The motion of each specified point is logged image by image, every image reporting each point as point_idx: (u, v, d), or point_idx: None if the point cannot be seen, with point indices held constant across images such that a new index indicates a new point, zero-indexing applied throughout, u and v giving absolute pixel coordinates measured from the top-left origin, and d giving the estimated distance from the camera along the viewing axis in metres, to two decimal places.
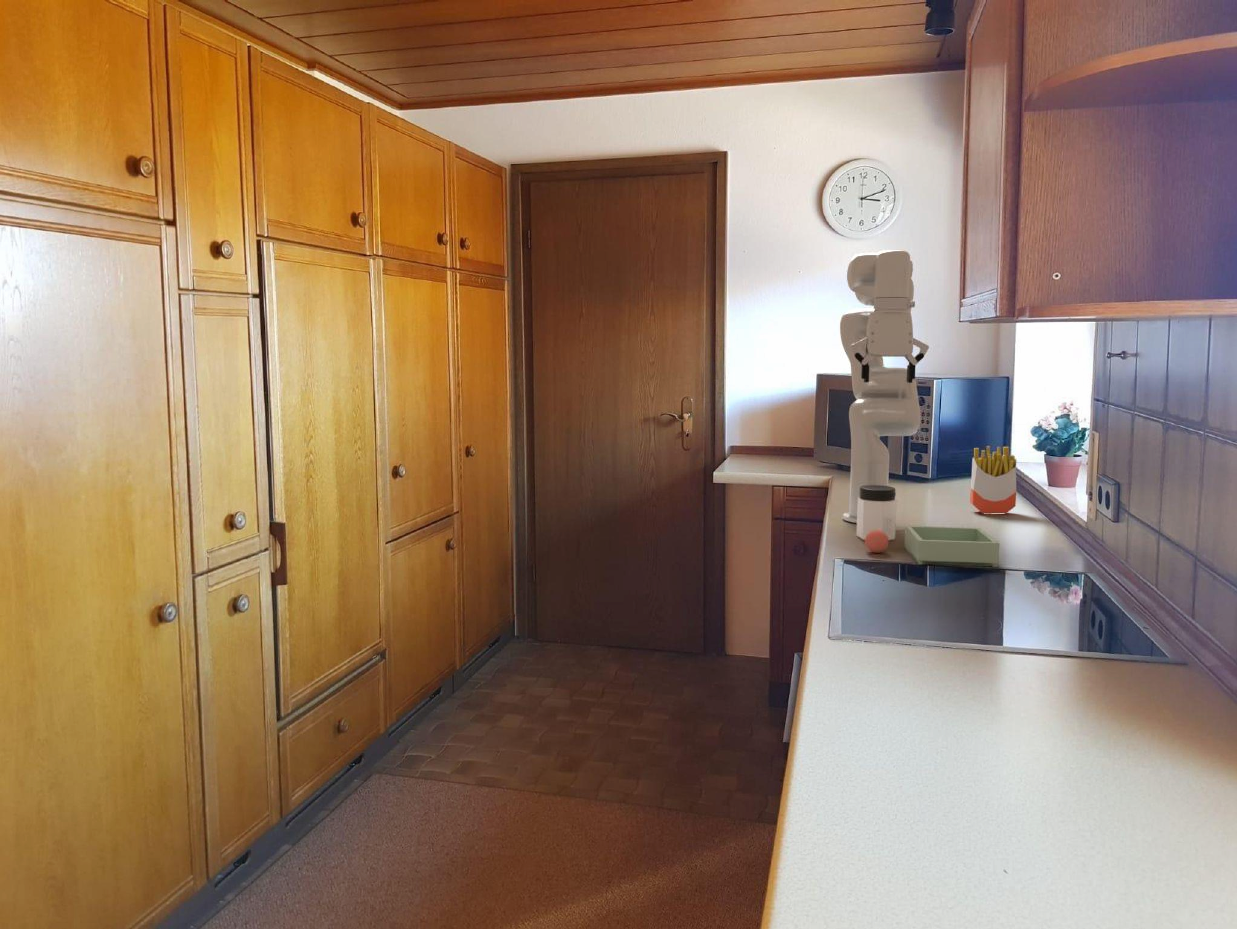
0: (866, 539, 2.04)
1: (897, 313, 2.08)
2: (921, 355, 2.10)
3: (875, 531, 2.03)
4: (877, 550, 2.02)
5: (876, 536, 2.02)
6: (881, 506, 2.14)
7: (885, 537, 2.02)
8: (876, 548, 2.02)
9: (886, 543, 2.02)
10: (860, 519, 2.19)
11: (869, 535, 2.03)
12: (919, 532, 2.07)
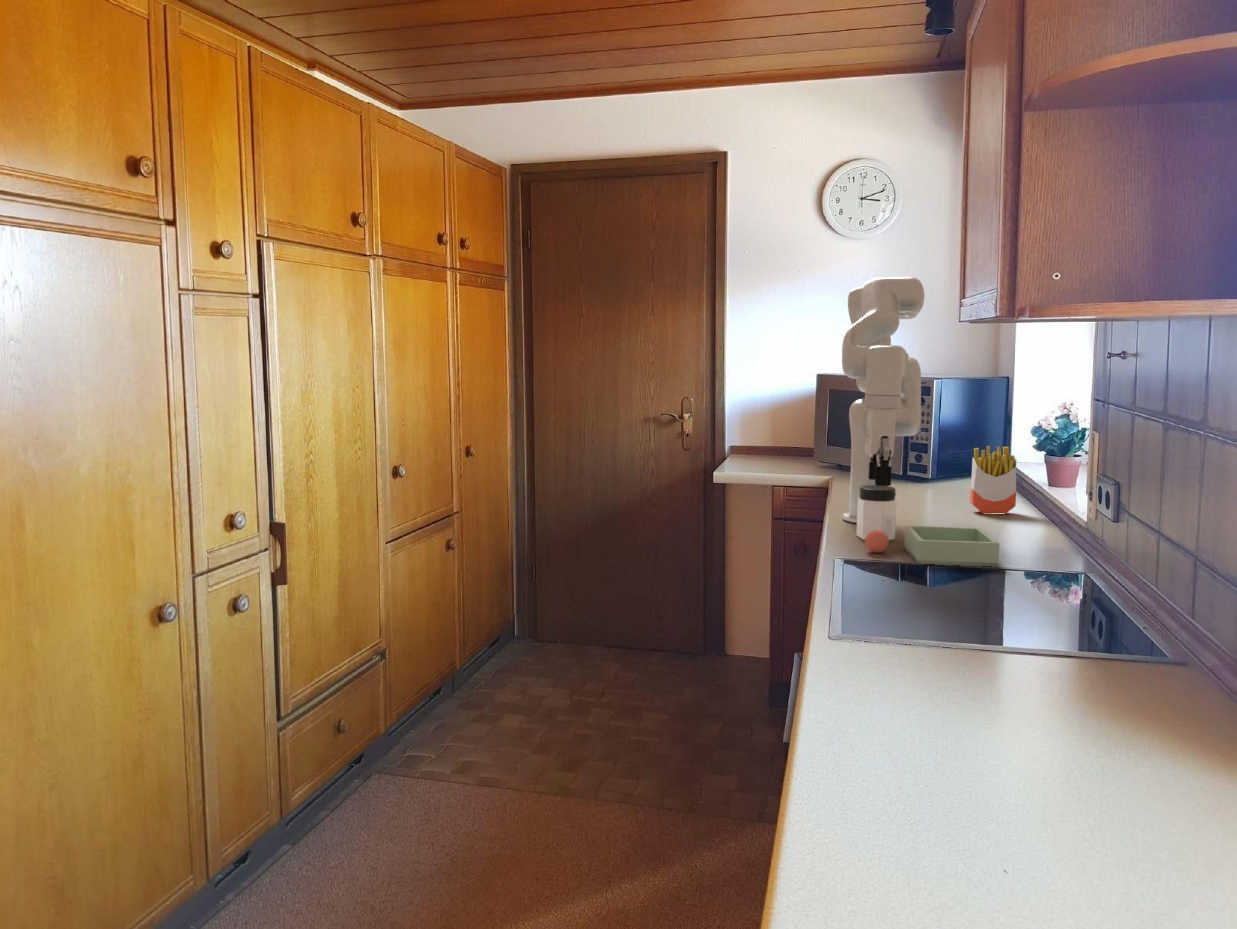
0: (866, 539, 2.04)
1: None
2: None
3: (875, 531, 2.03)
4: (877, 550, 2.02)
5: (876, 536, 2.02)
6: (881, 506, 2.14)
7: (885, 537, 2.02)
8: (876, 548, 2.02)
9: (886, 543, 2.02)
10: (860, 519, 2.19)
11: (869, 535, 2.03)
12: (919, 532, 2.07)
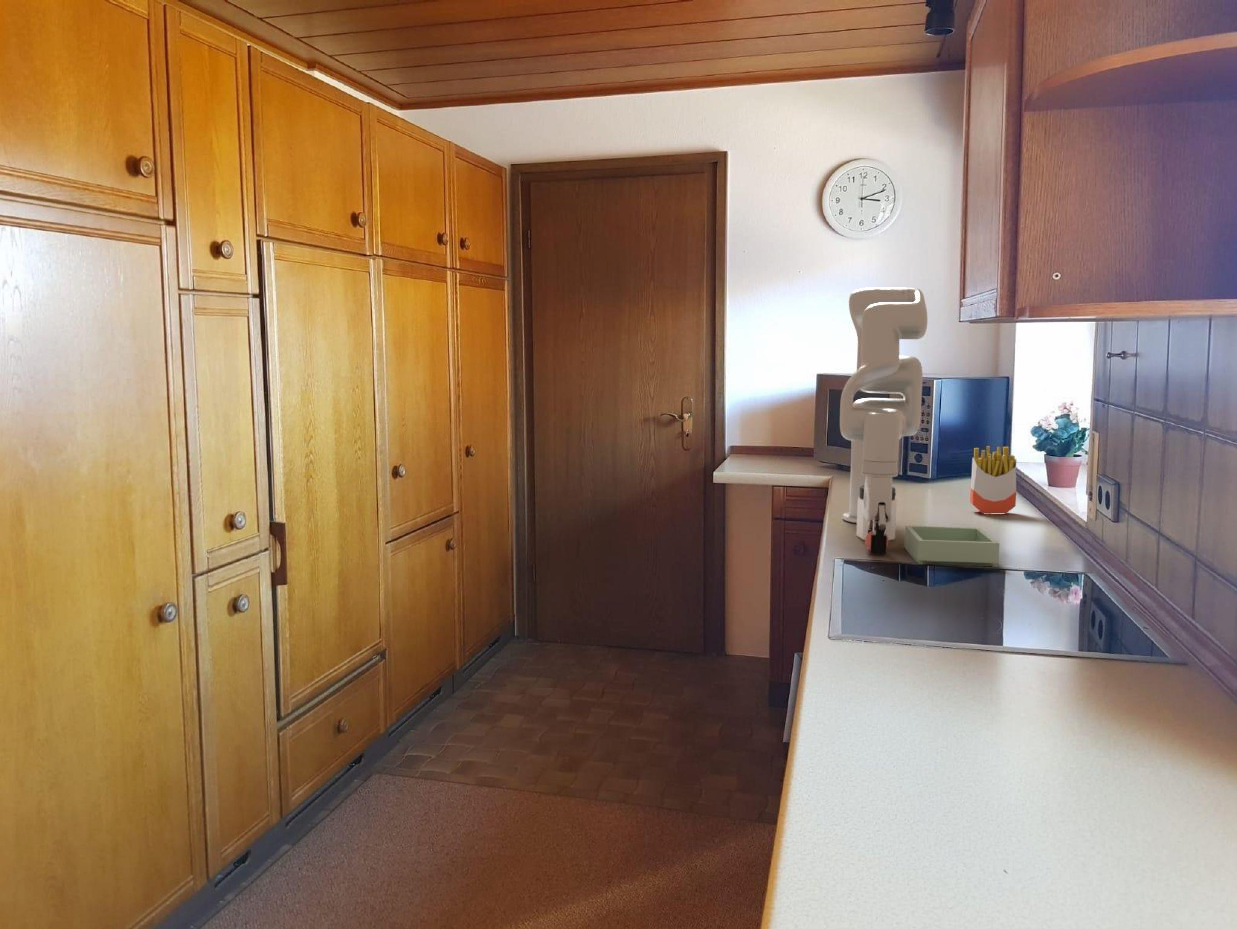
0: (866, 539, 2.04)
1: None
2: None
3: None
4: None
5: None
6: None
7: None
8: None
9: None
10: (860, 519, 2.19)
11: (869, 535, 2.03)
12: (919, 532, 2.07)
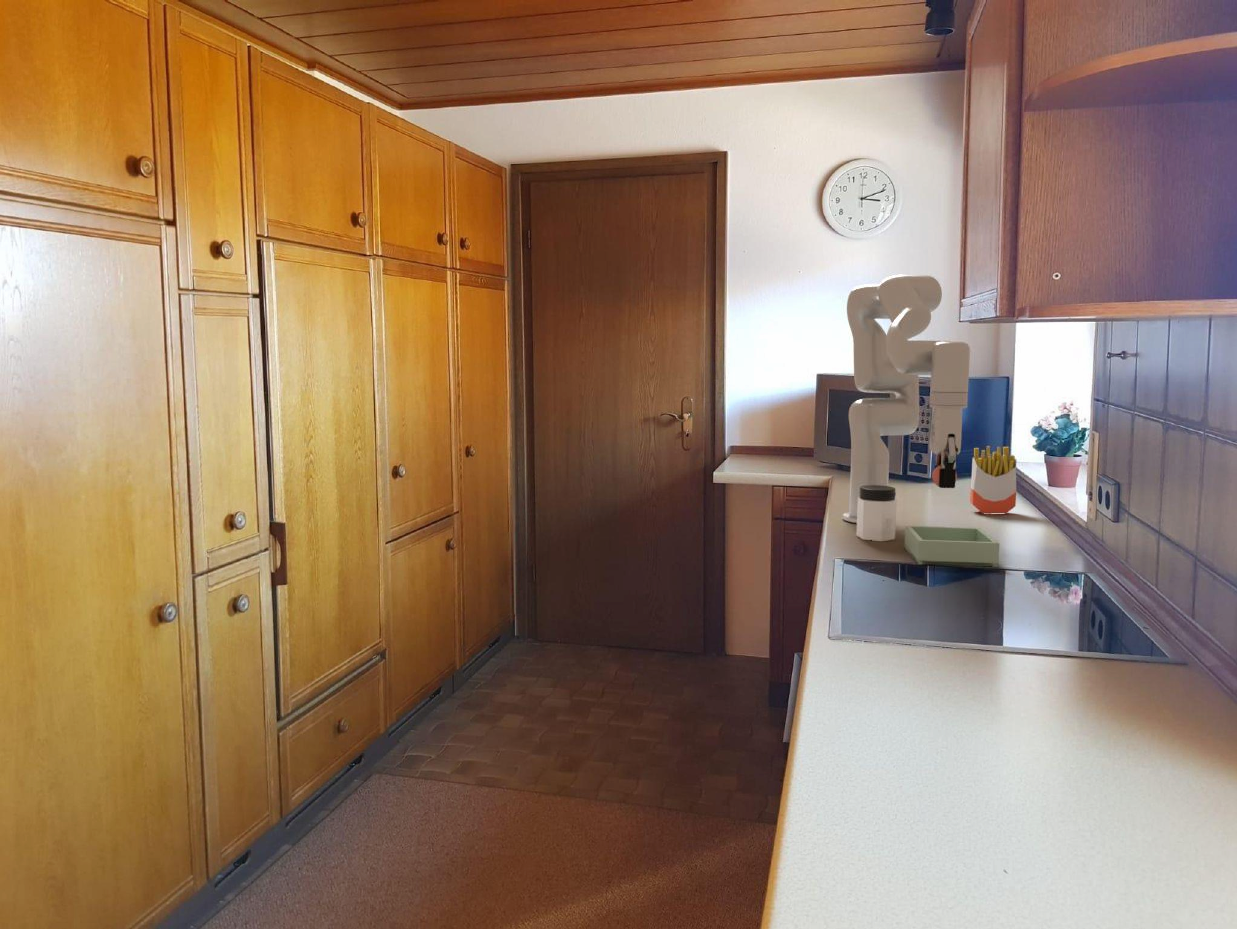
0: (933, 474, 1.98)
1: None
2: None
3: None
4: None
5: None
6: (881, 506, 2.14)
7: None
8: None
9: None
10: (860, 519, 2.19)
11: (937, 470, 1.98)
12: (919, 532, 2.07)
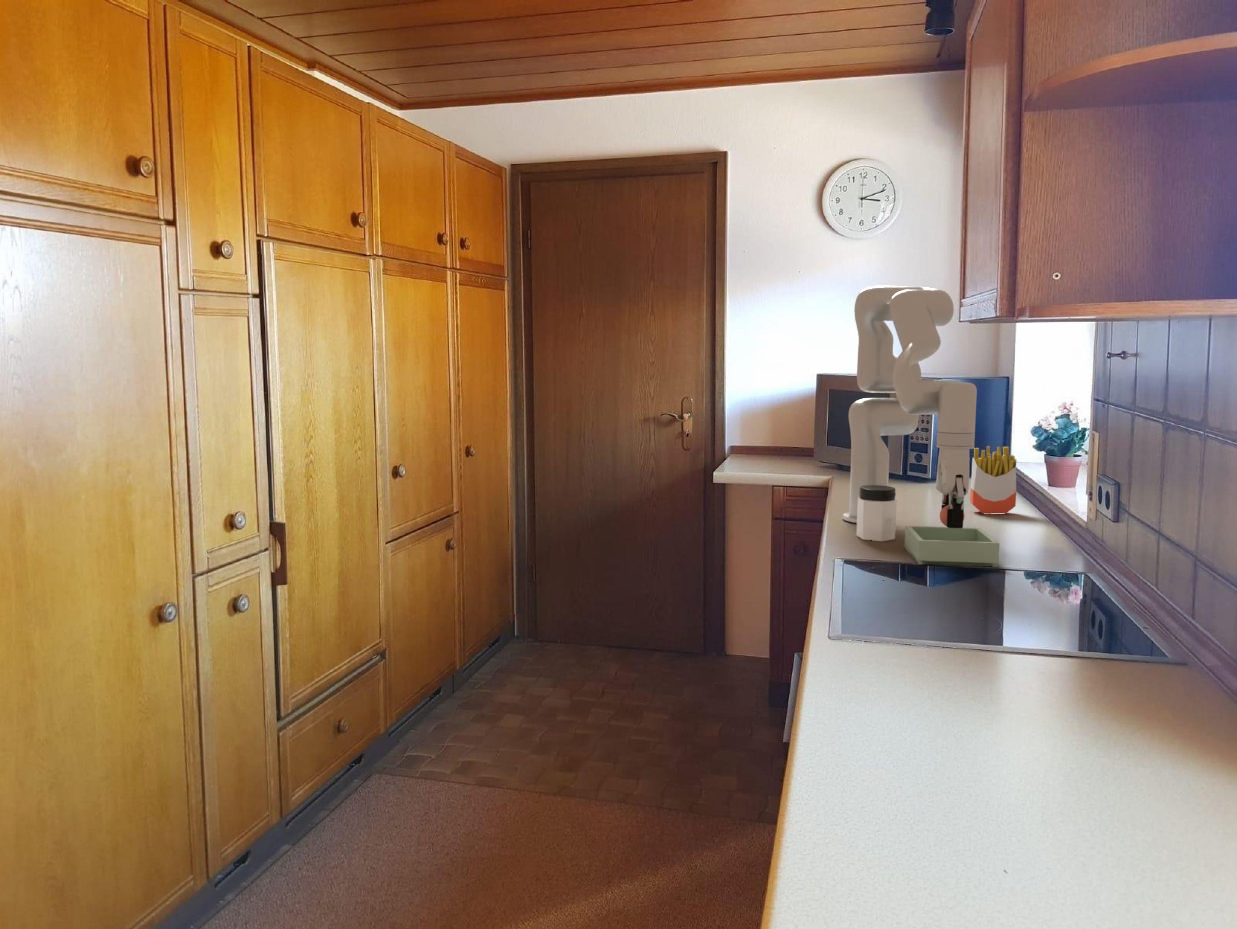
0: (941, 514, 1.99)
1: None
2: None
3: None
4: None
5: None
6: (881, 506, 2.14)
7: None
8: None
9: None
10: (860, 519, 2.19)
11: (944, 509, 1.98)
12: (919, 532, 2.07)
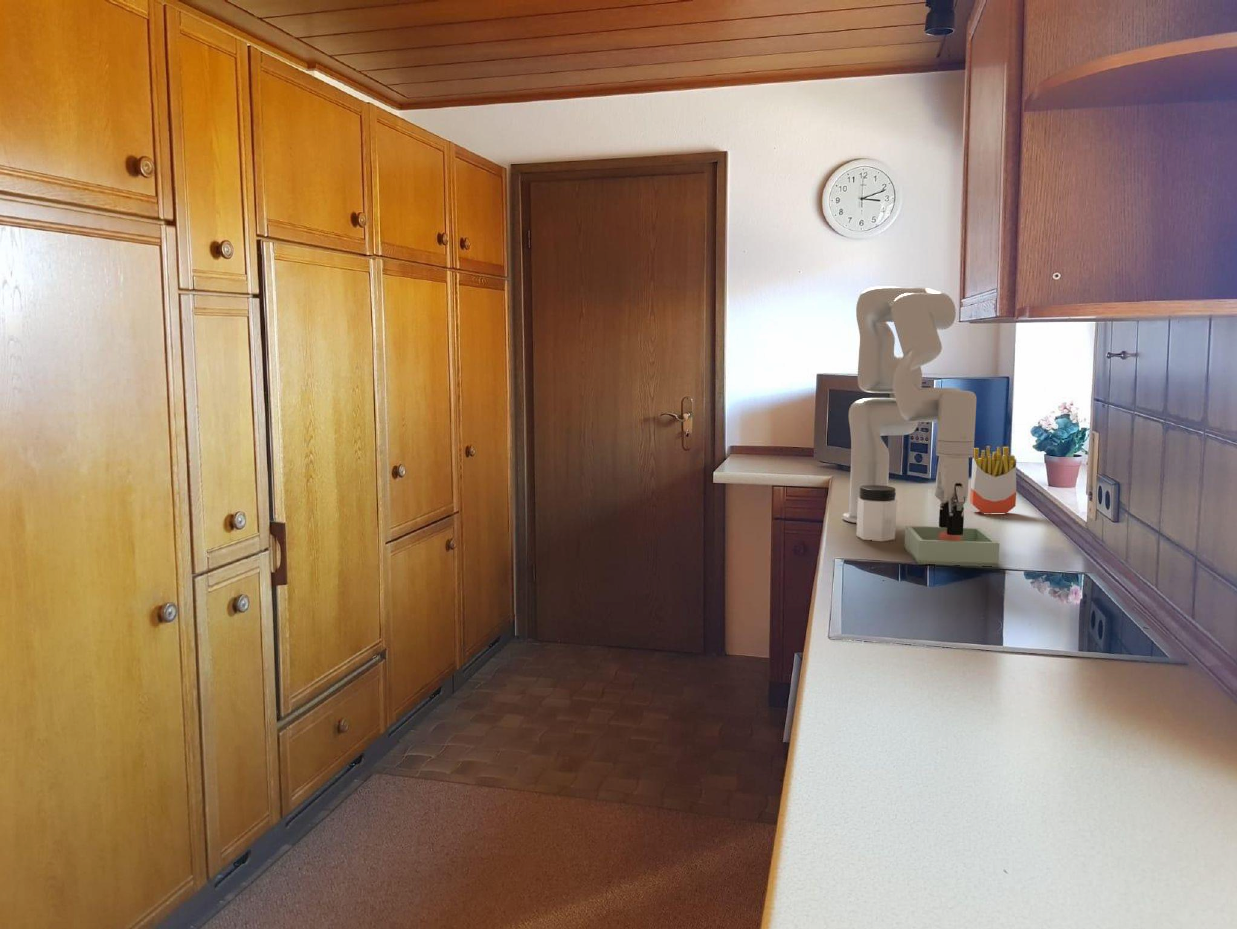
0: (939, 539, 2.00)
1: None
2: None
3: None
4: None
5: (950, 536, 1.98)
6: (881, 506, 2.14)
7: (959, 537, 1.98)
8: None
9: None
10: (860, 519, 2.19)
11: (942, 535, 1.99)
12: (919, 532, 2.07)
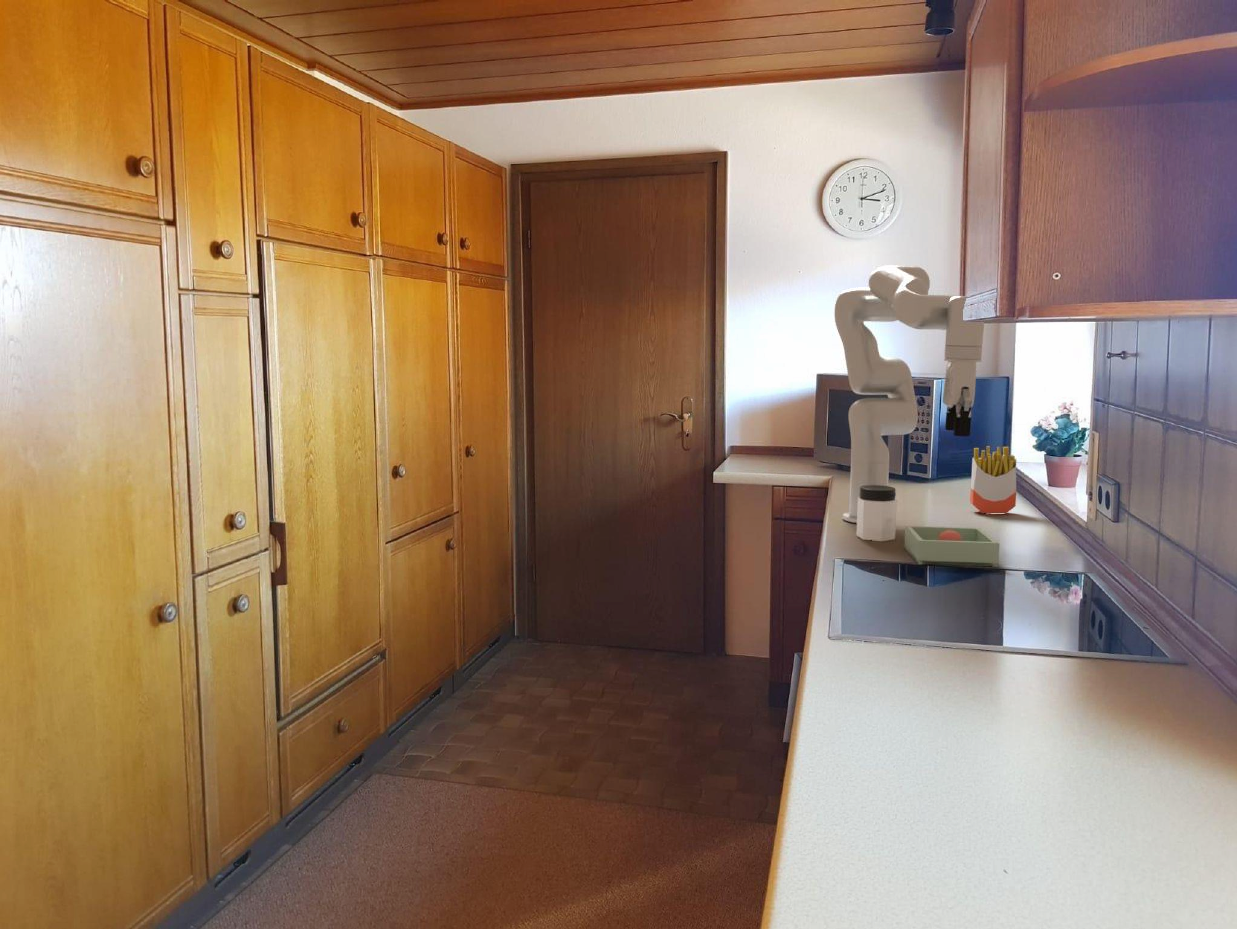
0: None
1: None
2: None
3: (949, 532, 1.99)
4: None
5: (950, 537, 1.98)
6: (881, 506, 2.14)
7: (959, 537, 1.98)
8: None
9: None
10: (860, 519, 2.19)
11: (942, 536, 1.99)
12: (919, 532, 2.07)
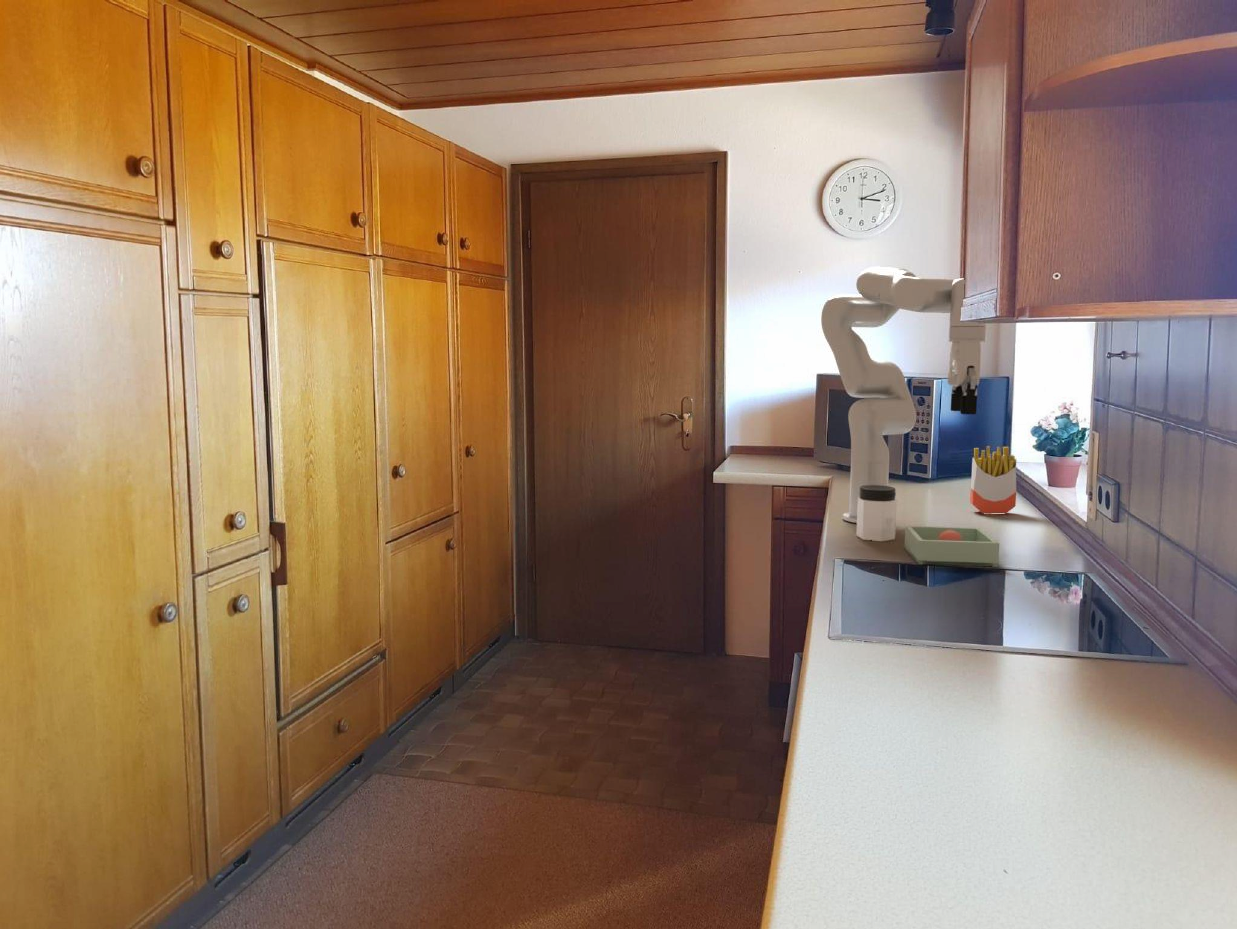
0: None
1: None
2: None
3: (949, 532, 1.99)
4: None
5: (951, 537, 1.98)
6: (881, 506, 2.14)
7: (959, 538, 1.98)
8: None
9: None
10: (860, 519, 2.19)
11: (943, 536, 1.99)
12: (919, 532, 2.07)
